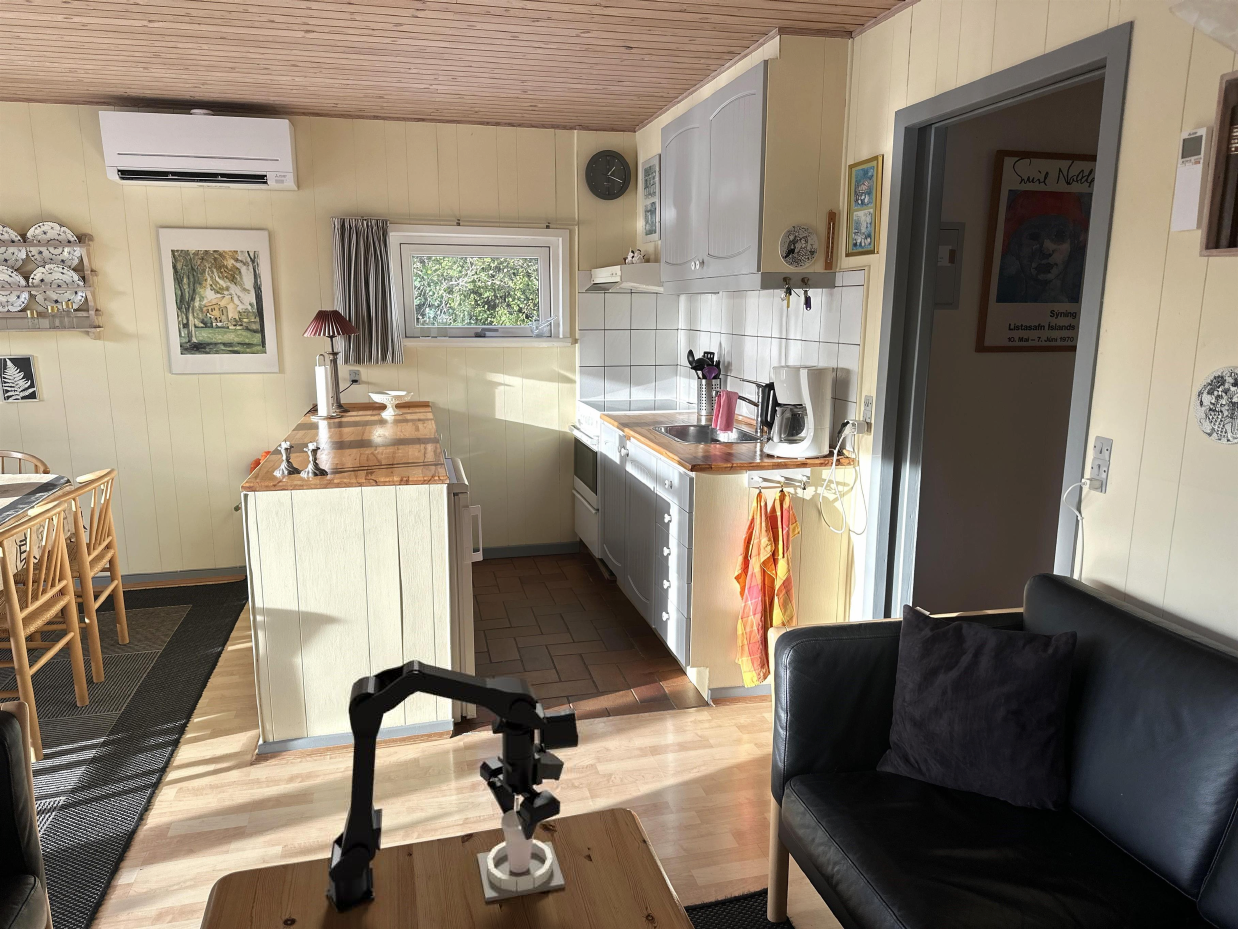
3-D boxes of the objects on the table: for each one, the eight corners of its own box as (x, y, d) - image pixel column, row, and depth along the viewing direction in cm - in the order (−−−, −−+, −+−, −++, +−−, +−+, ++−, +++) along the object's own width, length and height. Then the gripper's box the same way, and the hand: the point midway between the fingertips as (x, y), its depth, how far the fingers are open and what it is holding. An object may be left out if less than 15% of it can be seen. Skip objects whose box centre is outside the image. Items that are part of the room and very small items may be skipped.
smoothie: (494, 870, 155) (493, 801, 152) (514, 850, 160) (514, 783, 157) (524, 882, 152) (523, 812, 149) (543, 861, 158) (543, 793, 154)
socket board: (485, 901, 149) (485, 887, 148) (477, 857, 160) (477, 844, 160) (564, 887, 153) (564, 873, 152) (551, 845, 164) (551, 832, 163)
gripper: (586, 760, 149) (585, 839, 152) (530, 716, 163) (530, 789, 167) (531, 781, 142) (531, 864, 145) (477, 733, 157) (479, 809, 160)
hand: (519, 829), depth 155 cm, fingers closed on smoothie, 6 cm apart
